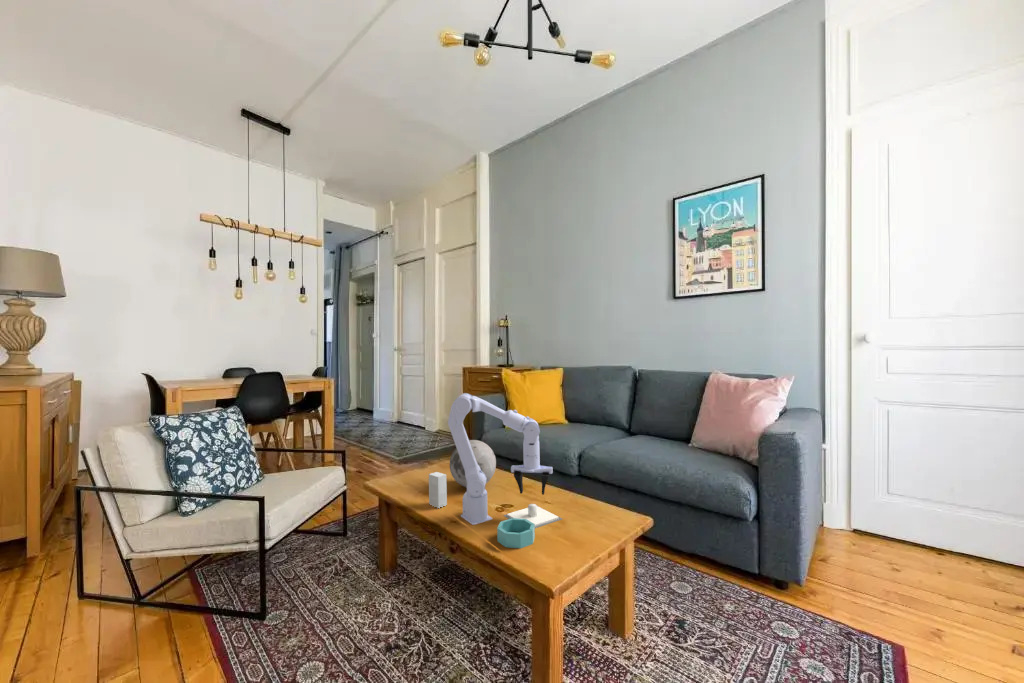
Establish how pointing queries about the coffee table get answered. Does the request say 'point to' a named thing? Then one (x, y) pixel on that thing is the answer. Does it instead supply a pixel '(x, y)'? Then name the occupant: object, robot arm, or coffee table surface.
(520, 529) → the bowl
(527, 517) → the lid
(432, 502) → the skincare box
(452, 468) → the moon model
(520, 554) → the coffee table surface
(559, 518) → the mat
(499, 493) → the coffee table surface
